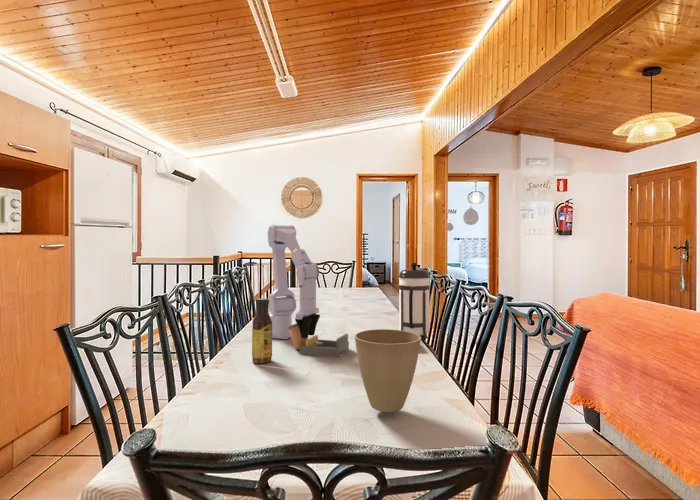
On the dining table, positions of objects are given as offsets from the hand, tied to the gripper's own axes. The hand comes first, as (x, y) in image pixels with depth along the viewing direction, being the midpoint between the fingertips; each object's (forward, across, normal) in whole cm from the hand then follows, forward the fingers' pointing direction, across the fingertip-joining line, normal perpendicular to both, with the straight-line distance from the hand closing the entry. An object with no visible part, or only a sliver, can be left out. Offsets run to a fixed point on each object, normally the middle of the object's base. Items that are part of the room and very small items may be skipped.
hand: (308, 336), depth 137 cm
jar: (+4, 0, +2) cm, 4 cm away
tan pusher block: (+5, 0, -2) cm, 5 cm away
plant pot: (+5, -38, -38) cm, 54 cm away
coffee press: (+5, +32, -32) cm, 46 cm away
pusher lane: (+5, 0, -6) cm, 8 cm away
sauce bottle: (+5, -17, +8) cm, 19 cm away
